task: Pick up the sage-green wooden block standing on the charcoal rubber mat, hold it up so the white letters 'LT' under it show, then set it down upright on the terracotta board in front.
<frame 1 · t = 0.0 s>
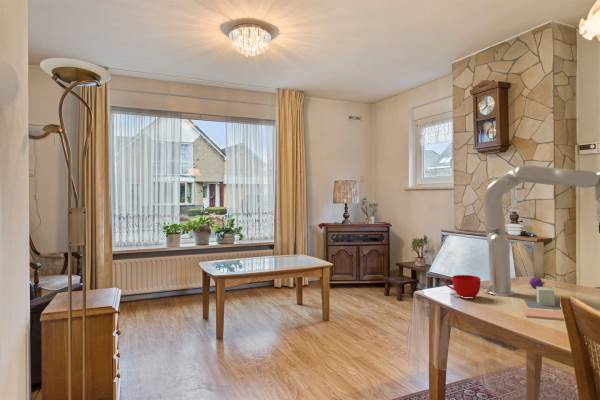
block: (545, 303, 166), resting on code mat
ceramic cup: (462, 297, 184), on the table
set down board: (543, 315, 152), on the table
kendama: (536, 285, 202), on the table
code mat: (546, 305, 165), on the table
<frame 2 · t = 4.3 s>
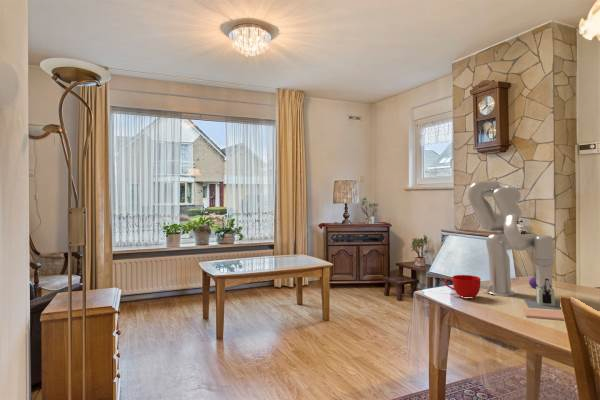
hand: (545, 300, 166), 2 cm above the table, tool pointing down, fingers closed on block, 6 cm apart
block: (545, 303, 166), resting on code mat, touching gripper
everything else where it was.
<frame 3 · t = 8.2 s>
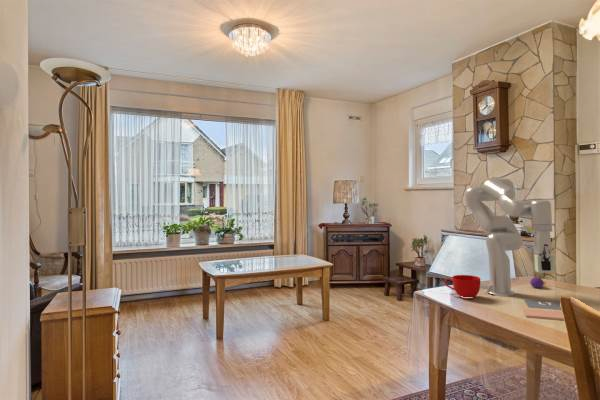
hand: (544, 268, 159), 18 cm above the table, tool pointing down, fingers closed on block, 6 cm apart
block: (544, 271, 159), point 17 cm above the table, touching gripper
everything else where it was.
when the fingers open (4 cm above the table, at t = 12.4 s): block drops 1 cm, resting on set down board.
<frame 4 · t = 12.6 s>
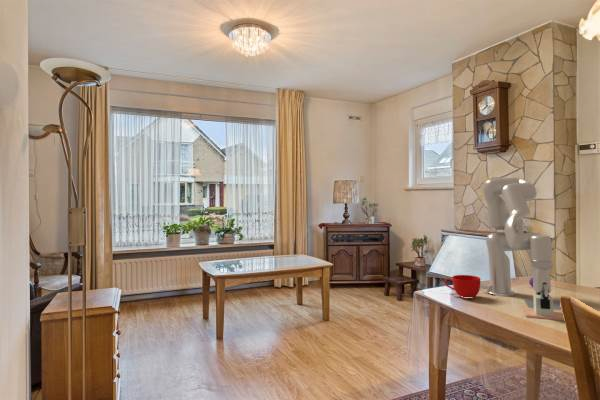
hand: (543, 305, 152), 4 cm above the table, tool pointing down, fingers open, 8 cm apart
block: (543, 313, 152), point 1 cm above the table, touching set down board
everything else where it was.
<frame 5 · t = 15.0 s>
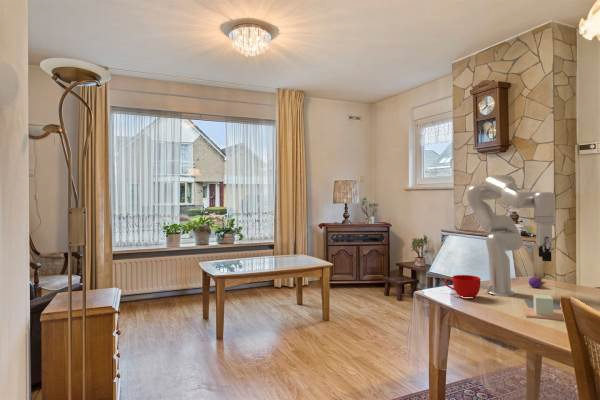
hand: (544, 258, 158), 23 cm above the table, tool pointing down, fingers open, 9 cm apart
nothing on the table moved.
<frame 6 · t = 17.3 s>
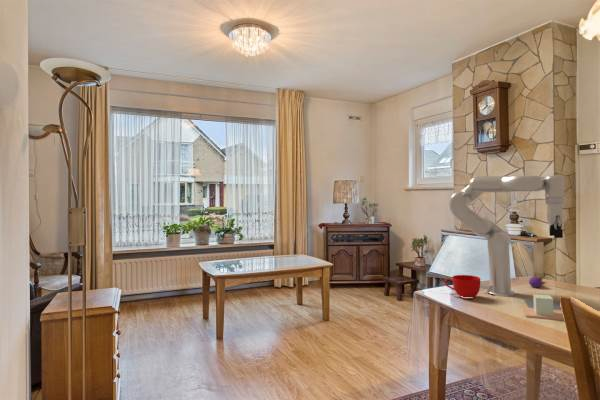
hand: (556, 236, 173), 30 cm above the table, tool pointing down, fingers open, 9 cm apart
at the end: block inside the target area on the set down board (0.1 cm from its centre), point 0.8 cm above the set down board's base; block tilted 0°; the gripper is holding nothing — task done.
